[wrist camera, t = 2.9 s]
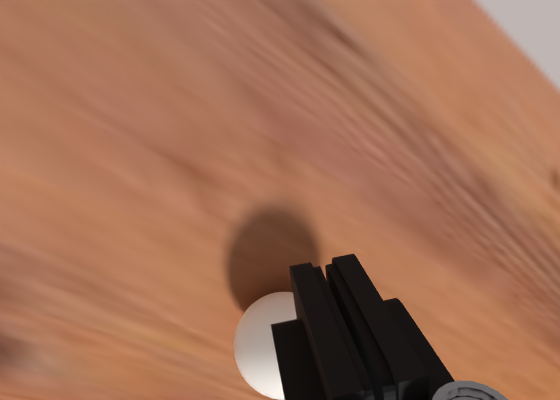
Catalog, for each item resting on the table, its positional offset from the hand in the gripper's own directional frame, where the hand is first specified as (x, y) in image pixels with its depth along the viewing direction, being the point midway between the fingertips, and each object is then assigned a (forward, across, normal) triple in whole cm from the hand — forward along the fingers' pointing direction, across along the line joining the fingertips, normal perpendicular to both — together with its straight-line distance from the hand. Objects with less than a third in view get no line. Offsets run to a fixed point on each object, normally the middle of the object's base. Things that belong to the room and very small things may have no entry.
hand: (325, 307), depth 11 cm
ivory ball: (+9, +1, +9) cm, 13 cm away
